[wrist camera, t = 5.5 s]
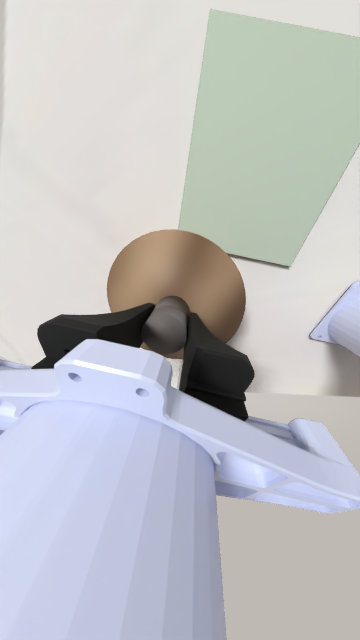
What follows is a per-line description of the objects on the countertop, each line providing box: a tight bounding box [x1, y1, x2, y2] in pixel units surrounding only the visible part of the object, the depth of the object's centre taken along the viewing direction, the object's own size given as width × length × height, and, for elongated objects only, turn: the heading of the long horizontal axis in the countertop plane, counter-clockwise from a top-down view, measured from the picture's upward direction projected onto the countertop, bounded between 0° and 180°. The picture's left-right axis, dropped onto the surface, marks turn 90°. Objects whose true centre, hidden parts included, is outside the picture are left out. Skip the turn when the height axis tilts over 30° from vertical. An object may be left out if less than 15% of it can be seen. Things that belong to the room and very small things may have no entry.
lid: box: [107, 230, 246, 359], centre depth 12 cm, size 13×13×6 cm
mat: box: [178, 9, 360, 266], centre depth 12 cm, size 13×13×1 cm
